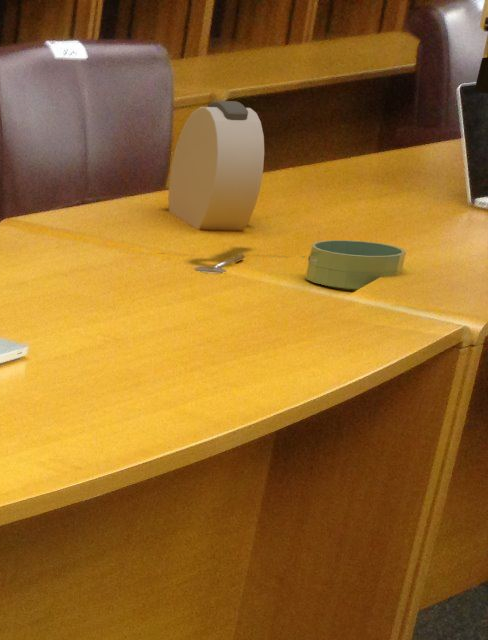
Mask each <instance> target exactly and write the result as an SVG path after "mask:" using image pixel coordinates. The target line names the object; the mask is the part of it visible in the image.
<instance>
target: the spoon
mask: <svg viewBox="0 0 488 640" xmlns="http://www.w3.org/2000/svg"><path fill="white" fill-rule="evenodd" d="M243 258H244V259H245V254H243V253H239V254H237V255H235V256H232V257H231V258H228V259H226V260H224V261H222V262H219V263H218V264H215V265H213V266H208V265H207V266H205V265H204V266H203V265H202V266H195V267H194V268H193V270H194V269H195V270H194V271H196V272H198V271H200V272H199V273H202V272H206V273H205V274H208V273H223V272H226V273H227V269H225V268H223V267H225V266H227V265H229V264H236V263H235V262H237V261H239V260H241V259H243ZM244 259H243V260H244Z"/></svg>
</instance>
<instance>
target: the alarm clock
mask: <svg viewBox="0 0 488 640" xmlns="http://www.w3.org/2000/svg"><path fill="white" fill-rule="evenodd" d="M264 135H265V134H264V131H263V126H262V122H261V120H260V118H259V115H258V113H257V112H256V111H255V110H254V109H252V108H251V107H245V105H244V104H243V103H242V102H239V101H236V100H235V101H234V100H231V101H230V100H215V101H211V102H210V103H208V104H207V106H200V107H198V108H196V109H195V110H194V111H192V113H191V114H190V115H189V117H188V118H187V119H186V121H185V123H184V125H183V128H182V129H181V131H180V134H179V137H178V139H177V143H176V146H175V149H174V154H173V157H172V161H171V168H170V173H169V174H170V175H169V180H168V182H169V183H168V195H167V197H168V199H167V201H168V212H169V213H170V214H172V215H174V216H175V217H177V218H178V219H180V220H182V221H183V222H185V223H187V224H188V225H190V226H191V227H193V228H194V229H196V230H199V231H234V232H235V231H236V232H244V231H245V229H246V228H247V225H248V224H249V223H250V220H251V218H252V216H253V213H254V210H255V207H256V205H257V201H258V198H259V195H260V190H261V185H262V179H263V173H264V164H265V137H264Z"/></svg>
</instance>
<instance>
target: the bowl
mask: <svg viewBox="0 0 488 640" xmlns="http://www.w3.org/2000/svg"><path fill="white" fill-rule="evenodd" d="M406 254H407V252H406V250H405V249H404V248H401V247H398V246H396V245H391V244H386V243H381V242H373V241H366V240H365V241H364V240H348V239H330V240H329V239H328V240H321V241H316V242H313V243H311V244H310V249H309V253H308V259H307V264H306V268H305V274H304V278H305V280H307V281H309V282H311V283H315V284H319V285H320V284H321V286H323V285H324V286H323V287H327V286H328V288H331V287H332V288H331V289H336V290H342V291H350V292H357V291H358V290H360V289H362V288H363V287H365V286H367V285H369V284H371V283H373V282H374V281H376V280H378V279H380V278H386V277H396V276H398V275H401V274H402V272H403V268H404V263H405V259H406Z"/></svg>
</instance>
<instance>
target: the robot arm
mask: <svg viewBox="0 0 488 640" xmlns="http://www.w3.org/2000/svg"><path fill="white" fill-rule="evenodd" d="M479 23H480V24H479V27H480V29H481V30H482V31H483V32H486V33H488V0H484V1H483V8H482V12H481V17H480V22H479ZM474 92H475V93H477V94H478V93H479V94H488V34H487V35H486V41H485V45H484V52H483V56H482V58H481V60H480V66H479V70H478V73H477V78H476V82H475V86H474Z"/></svg>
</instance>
